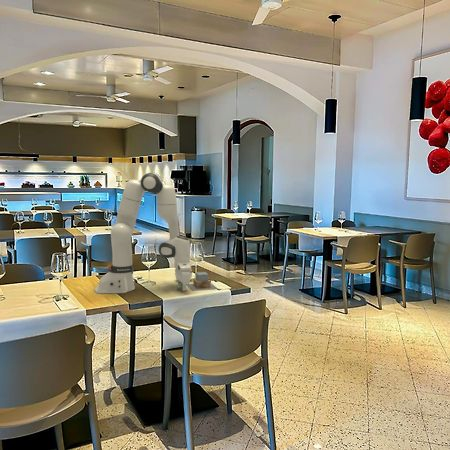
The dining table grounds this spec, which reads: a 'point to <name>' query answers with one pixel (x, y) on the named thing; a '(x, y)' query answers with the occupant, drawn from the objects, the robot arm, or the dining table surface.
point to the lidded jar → (190, 274)
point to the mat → (201, 288)
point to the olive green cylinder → (180, 286)
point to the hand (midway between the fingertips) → (181, 288)
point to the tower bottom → (201, 284)
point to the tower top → (201, 276)
